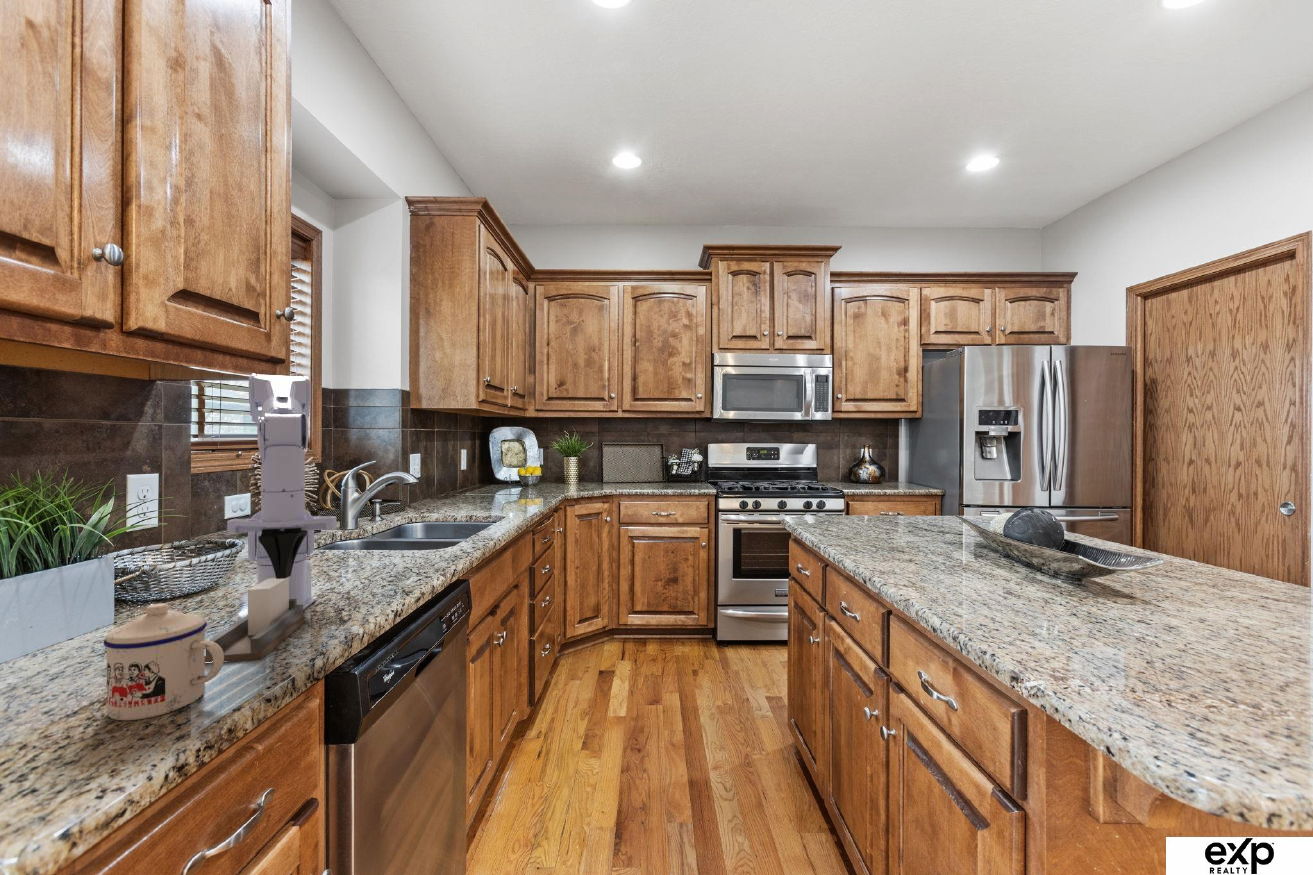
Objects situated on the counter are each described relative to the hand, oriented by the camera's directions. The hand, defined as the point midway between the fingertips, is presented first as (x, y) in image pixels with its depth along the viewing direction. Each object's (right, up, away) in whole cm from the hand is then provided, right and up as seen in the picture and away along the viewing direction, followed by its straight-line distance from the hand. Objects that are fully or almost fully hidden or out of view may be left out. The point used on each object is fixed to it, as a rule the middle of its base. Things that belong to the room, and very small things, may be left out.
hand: (283, 577), depth 87 cm
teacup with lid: (+1, -10, -21) cm, 23 cm away
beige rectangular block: (-3, -8, +2) cm, 9 cm away
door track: (-3, -9, -2) cm, 10 cm away
